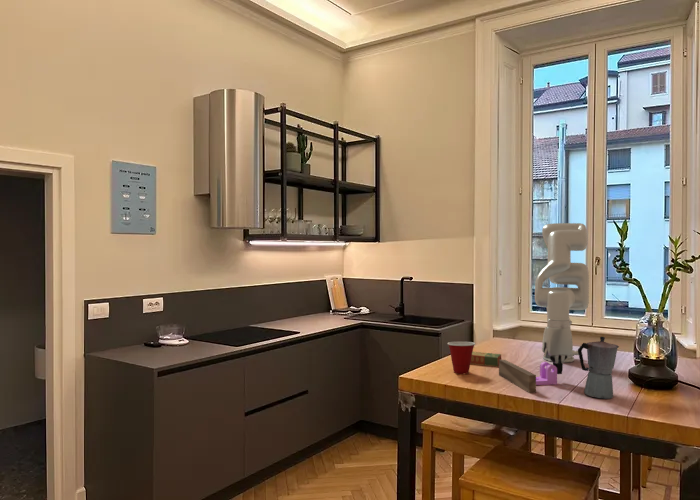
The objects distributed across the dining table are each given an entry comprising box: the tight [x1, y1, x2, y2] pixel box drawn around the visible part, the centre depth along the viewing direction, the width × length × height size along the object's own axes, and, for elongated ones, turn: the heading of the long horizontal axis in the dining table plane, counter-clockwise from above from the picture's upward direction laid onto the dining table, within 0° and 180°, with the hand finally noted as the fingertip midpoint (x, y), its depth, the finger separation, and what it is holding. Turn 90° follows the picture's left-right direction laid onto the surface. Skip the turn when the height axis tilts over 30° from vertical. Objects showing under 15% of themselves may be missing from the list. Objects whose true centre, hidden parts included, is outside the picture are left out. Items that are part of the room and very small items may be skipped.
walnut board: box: [498, 359, 537, 394], centre depth 196 cm, size 2×24×6 cm, turn 9°
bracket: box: [536, 361, 558, 386], centre depth 197 cm, size 13×6×7 cm, turn 99°
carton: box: [470, 351, 502, 367], centre depth 229 cm, size 8×16×4 cm, turn 64°
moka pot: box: [577, 336, 620, 400], centre depth 181 cm, size 10×15×20 cm, turn 106°
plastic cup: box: [447, 341, 476, 375], centre depth 213 cm, size 11×11×12 cm
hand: (557, 373), depth 199 cm, fingers closed
